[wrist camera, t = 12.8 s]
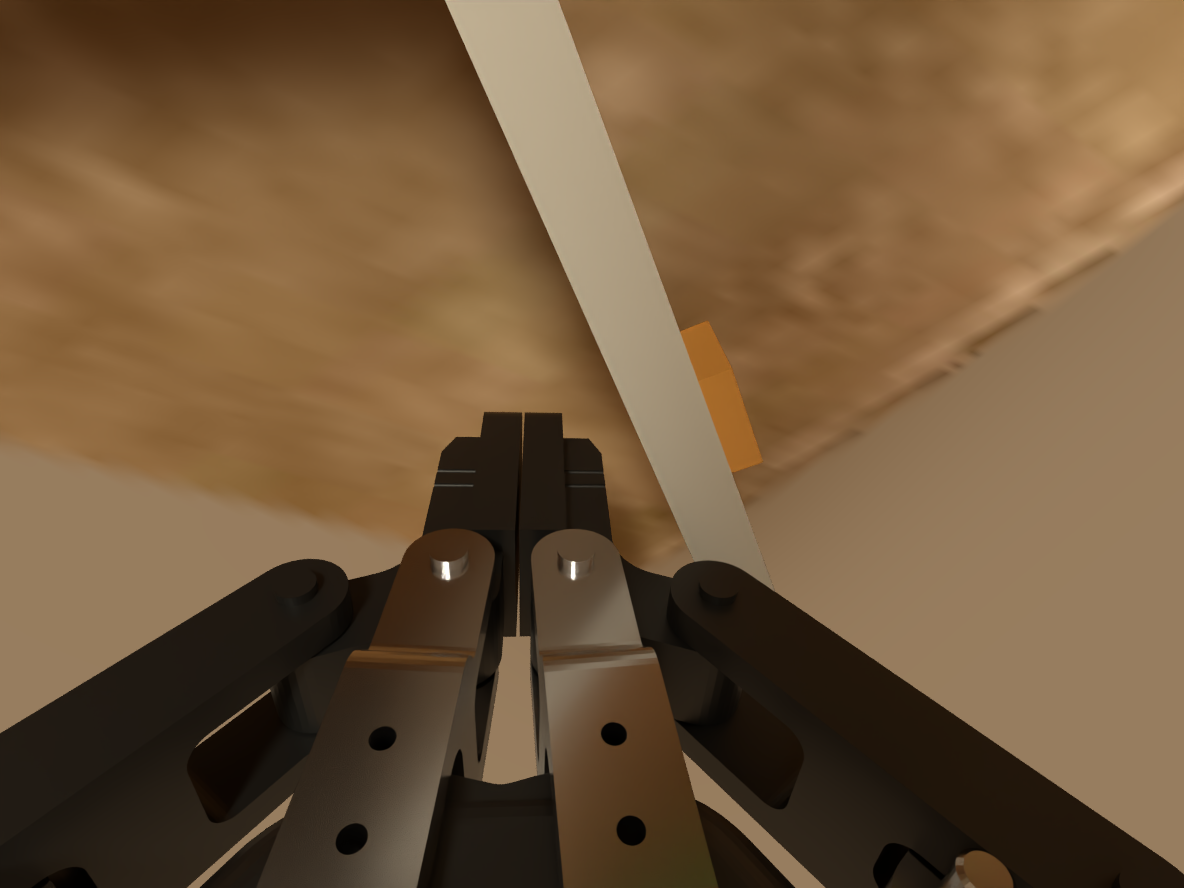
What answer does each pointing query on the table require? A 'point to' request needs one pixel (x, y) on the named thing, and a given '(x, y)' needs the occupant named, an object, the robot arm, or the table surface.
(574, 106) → the side door
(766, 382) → the table surface
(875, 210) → the table surface
